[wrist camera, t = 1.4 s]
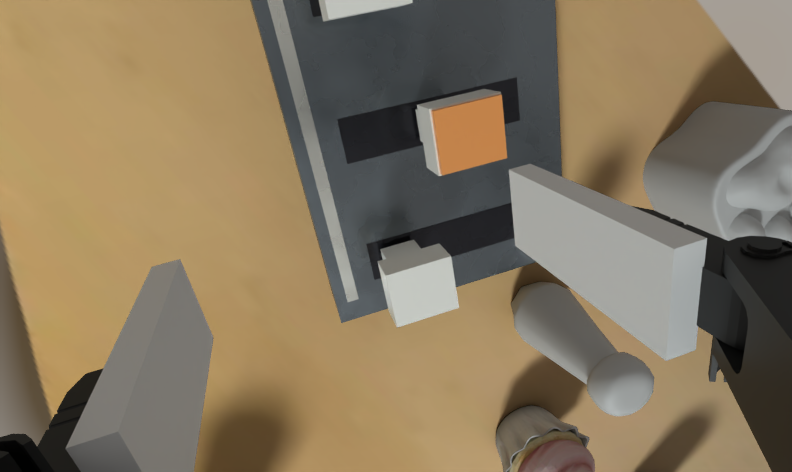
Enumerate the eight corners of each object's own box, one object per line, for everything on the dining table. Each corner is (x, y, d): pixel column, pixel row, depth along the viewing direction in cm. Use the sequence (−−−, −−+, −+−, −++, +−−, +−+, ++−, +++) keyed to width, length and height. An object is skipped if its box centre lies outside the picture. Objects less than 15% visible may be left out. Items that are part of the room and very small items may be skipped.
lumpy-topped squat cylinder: (721, 84, 40) (834, 93, 32) (766, 187, 46) (871, 215, 38) (629, 170, 40) (717, 199, 33) (685, 261, 46) (772, 304, 38)
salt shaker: (500, 282, 41) (597, 375, 29) (558, 265, 42) (674, 348, 30) (504, 336, 43) (595, 442, 32) (559, 319, 44) (667, 415, 33)
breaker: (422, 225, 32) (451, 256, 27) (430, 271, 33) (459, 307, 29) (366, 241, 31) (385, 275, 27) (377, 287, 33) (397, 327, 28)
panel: (514, -116, 30) (550, -139, 26) (537, 234, 40) (565, 253, 37) (230, -72, 27) (226, -90, 23) (333, 296, 37) (341, 323, 33)
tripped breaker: (461, 84, 29) (503, 92, 24) (468, 141, 31) (509, 159, 26) (400, 99, 28) (430, 109, 23) (410, 156, 30) (441, 177, 25)
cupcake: (556, 453, 51) (619, 538, 42) (478, 471, 49) (527, 566, 40) (568, 384, 48) (640, 461, 39) (484, 400, 46) (540, 486, 37)
